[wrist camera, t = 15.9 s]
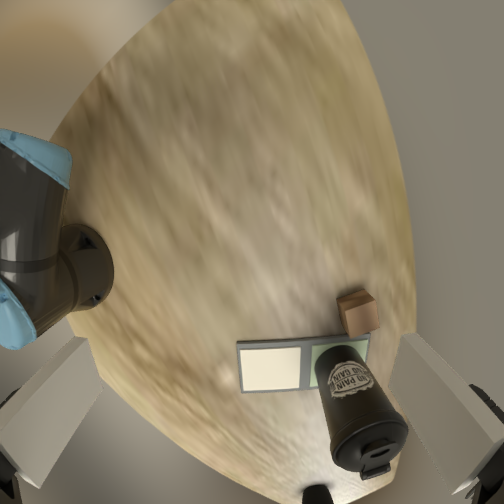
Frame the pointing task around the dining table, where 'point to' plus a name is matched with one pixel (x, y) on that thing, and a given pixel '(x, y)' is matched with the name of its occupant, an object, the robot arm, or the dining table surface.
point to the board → (288, 362)
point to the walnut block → (358, 313)
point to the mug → (317, 495)
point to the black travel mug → (358, 414)
